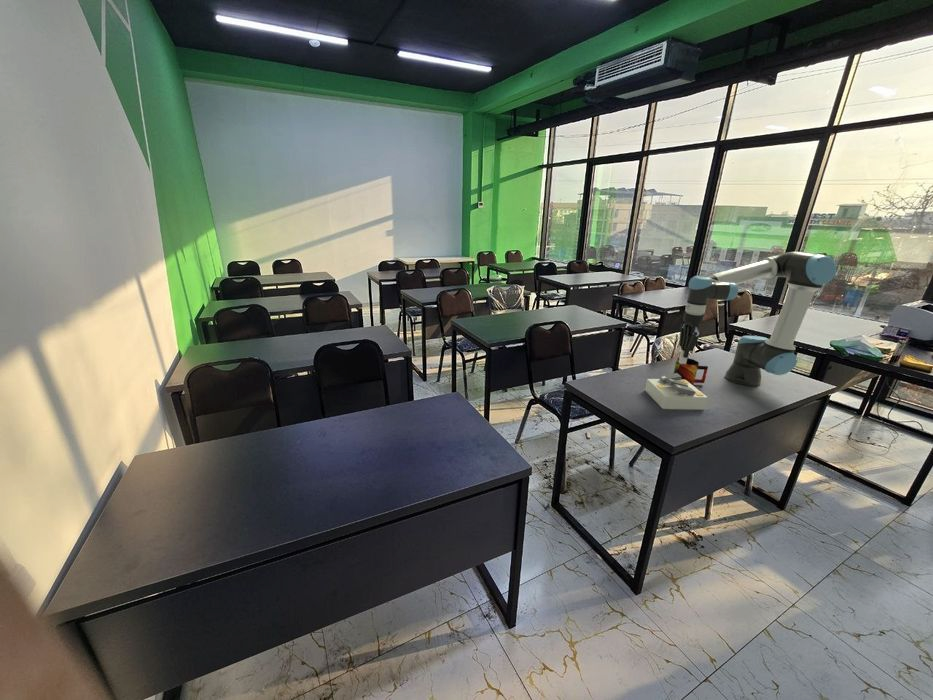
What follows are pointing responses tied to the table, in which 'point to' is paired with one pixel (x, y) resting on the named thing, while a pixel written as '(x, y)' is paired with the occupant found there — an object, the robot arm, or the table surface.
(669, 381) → the block
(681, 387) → the block
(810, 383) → the table surface
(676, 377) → the block
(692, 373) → the mug
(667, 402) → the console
